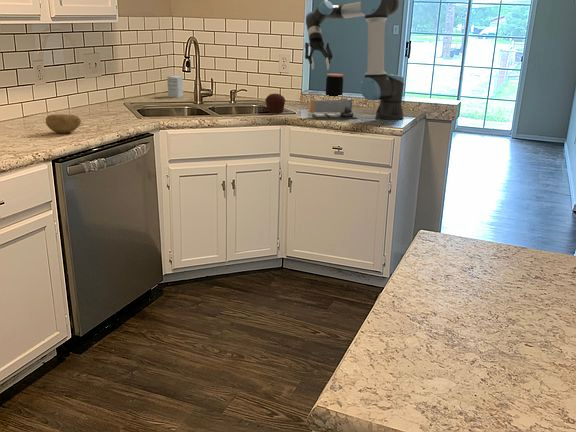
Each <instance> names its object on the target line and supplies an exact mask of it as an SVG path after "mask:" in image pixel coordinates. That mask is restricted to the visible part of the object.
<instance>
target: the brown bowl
mask: <svg viewBox="0 0 576 432" xmlns="http://www.w3.org/2000/svg"><path fill="white" fill-rule="evenodd" d="M81 122H82V120H81V118H80V117H79V116H77V115H75V114H66V113H65V114H63V113H62V114H60V113H59V114H49V115H48V116H46V118H45V124H46V126H47V127H48V129H49V130H51V131H52V132H54V133H58V134H68V133H71V132H74V131H75V130H77V129H78V128H79V127H80V126H81Z"/></svg>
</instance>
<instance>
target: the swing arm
mask: <svg viewBox="0 0 576 432" xmlns="http://www.w3.org/2000/svg"><path fill="white" fill-rule="evenodd" d="M353 101H354V100H353V98H350V97H346V98H345V97H344V98H342V100H325V99H309V104H308V105H309V108H308V112H309V113H311V114H315V113H341V112H345V113H351V112H352V111H353Z"/></svg>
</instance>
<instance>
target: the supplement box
mask: <svg viewBox="0 0 576 432" xmlns="http://www.w3.org/2000/svg"><path fill="white" fill-rule="evenodd" d="M166 81H167V82H166V83H167V88H166V89H167V97H168V98H175V97H176V99H178V98H182V97H184V85H183V84H184V83H183V76H181V75H179V76H178V75H171V76H167V77H166Z"/></svg>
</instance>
